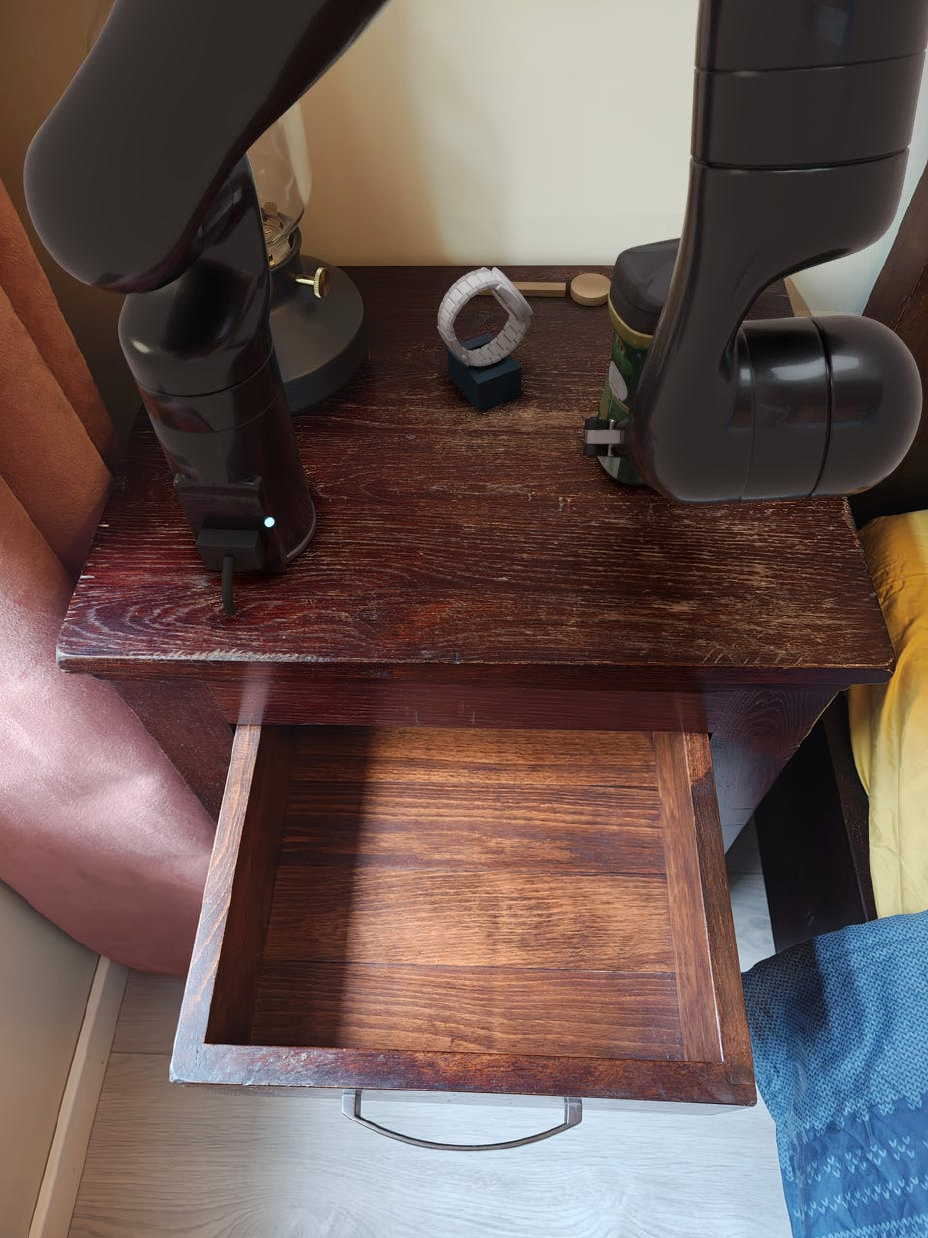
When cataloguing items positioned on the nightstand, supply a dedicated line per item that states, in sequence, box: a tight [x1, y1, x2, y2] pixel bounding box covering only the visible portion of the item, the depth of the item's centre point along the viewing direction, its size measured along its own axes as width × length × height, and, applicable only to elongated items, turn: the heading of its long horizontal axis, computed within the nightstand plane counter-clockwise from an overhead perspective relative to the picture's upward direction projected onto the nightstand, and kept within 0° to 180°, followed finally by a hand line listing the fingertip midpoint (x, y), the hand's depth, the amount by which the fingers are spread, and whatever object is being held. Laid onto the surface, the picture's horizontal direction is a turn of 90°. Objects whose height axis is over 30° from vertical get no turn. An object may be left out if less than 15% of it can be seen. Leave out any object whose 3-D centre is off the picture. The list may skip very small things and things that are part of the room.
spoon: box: [475, 272, 612, 307], centre depth 89 cm, size 4×14×1 cm, turn 86°
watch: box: [436, 266, 534, 413], centre depth 77 cm, size 6×8×11 cm
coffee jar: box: [596, 237, 747, 486], centre depth 69 cm, size 10×8×19 cm
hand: (659, 445), depth 69 cm, fingers closed
